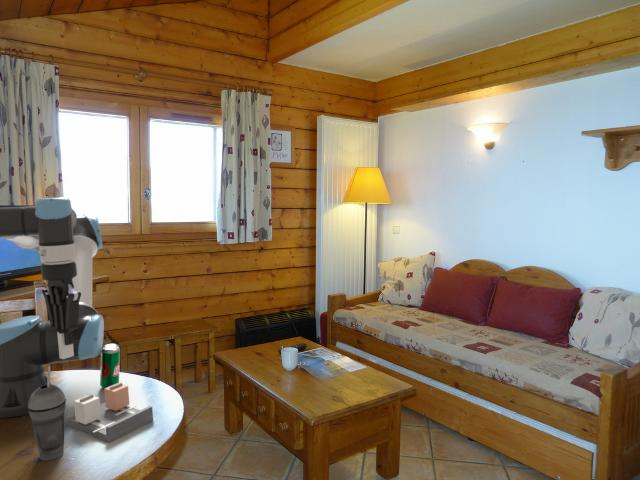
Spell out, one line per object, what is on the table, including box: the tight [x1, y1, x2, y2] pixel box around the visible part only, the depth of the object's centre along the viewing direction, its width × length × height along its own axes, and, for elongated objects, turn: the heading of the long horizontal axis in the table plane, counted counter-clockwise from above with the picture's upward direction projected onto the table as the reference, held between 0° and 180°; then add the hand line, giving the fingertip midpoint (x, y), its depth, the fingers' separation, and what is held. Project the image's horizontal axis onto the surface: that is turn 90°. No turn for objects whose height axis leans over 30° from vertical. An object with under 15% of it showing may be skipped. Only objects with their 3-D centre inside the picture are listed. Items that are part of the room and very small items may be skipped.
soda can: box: [99, 343, 121, 389], centre depth 140 cm, size 5×5×12 cm
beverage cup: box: [28, 365, 67, 462], centre depth 104 cm, size 7×7×20 cm
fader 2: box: [103, 382, 130, 411], centre depth 124 cm, size 4×4×6 cm
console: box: [66, 402, 154, 443], centre depth 119 cm, size 17×14×4 cm
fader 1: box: [73, 394, 101, 425], centre depth 117 cm, size 4×4×6 cm
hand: (66, 356), depth 119 cm, fingers closed
